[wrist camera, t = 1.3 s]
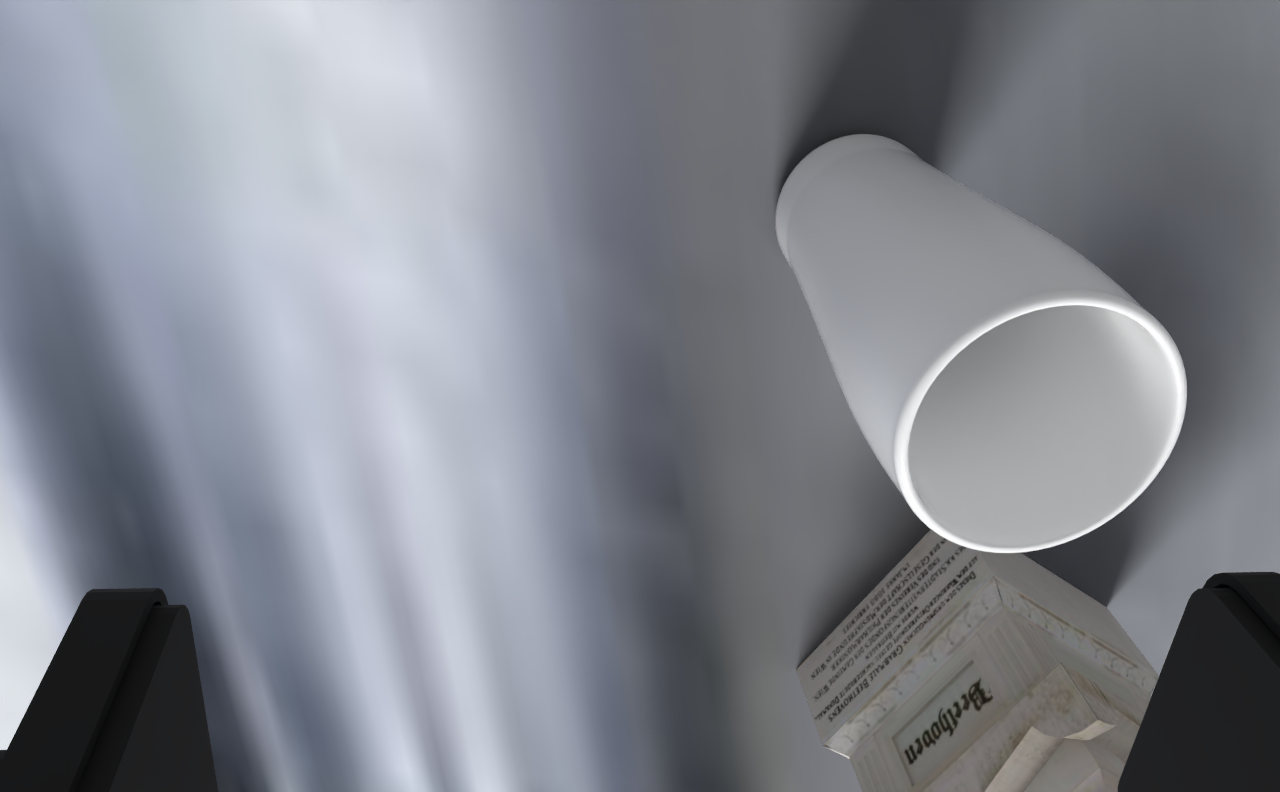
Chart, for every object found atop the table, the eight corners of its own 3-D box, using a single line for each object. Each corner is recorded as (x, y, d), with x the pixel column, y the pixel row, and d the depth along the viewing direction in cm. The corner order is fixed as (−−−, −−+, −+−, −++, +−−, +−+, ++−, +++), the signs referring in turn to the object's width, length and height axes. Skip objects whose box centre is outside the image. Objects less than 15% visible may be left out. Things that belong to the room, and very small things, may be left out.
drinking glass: (814, 70, 35) (1009, 239, 22) (986, 157, 37) (1256, 359, 24) (713, 256, 38) (835, 506, 25) (879, 328, 40) (1072, 593, 27)
